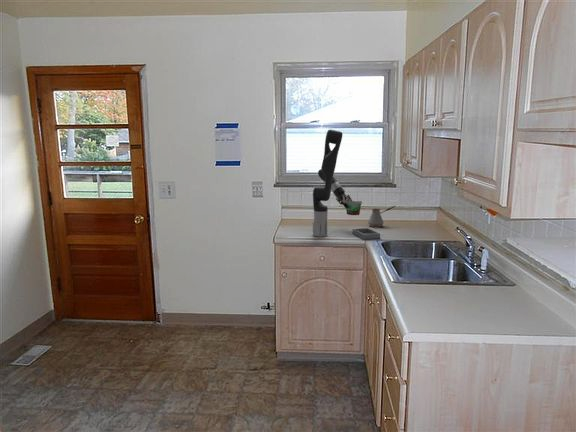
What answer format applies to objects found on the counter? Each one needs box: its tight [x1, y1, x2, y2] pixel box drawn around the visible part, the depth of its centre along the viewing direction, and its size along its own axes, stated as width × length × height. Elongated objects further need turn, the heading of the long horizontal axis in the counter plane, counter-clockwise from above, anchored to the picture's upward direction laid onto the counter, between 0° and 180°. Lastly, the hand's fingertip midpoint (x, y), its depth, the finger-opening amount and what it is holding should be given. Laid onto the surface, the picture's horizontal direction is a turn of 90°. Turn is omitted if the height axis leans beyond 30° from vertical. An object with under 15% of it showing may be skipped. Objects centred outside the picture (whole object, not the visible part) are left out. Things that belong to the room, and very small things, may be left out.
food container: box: [345, 200, 363, 216], centre depth 309 cm, size 12×6×10 cm, turn 61°
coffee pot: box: [367, 205, 397, 228], centre depth 324 cm, size 21×12×15 cm, turn 99°
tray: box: [351, 227, 381, 241], centre depth 293 cm, size 12×18×4 cm, turn 16°
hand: (350, 207), depth 310 cm, fingers closed on food container, 5 cm apart
